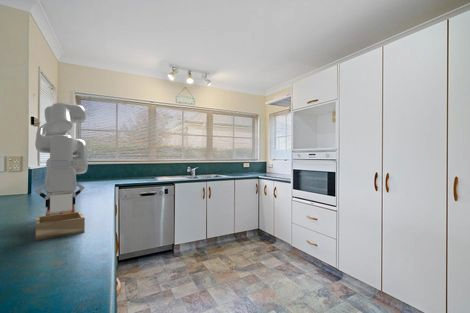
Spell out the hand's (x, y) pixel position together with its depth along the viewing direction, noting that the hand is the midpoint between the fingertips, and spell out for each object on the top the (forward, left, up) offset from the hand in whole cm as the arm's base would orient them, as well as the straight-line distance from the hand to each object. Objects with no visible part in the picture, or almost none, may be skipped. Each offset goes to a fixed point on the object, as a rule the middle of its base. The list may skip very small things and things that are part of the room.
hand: (60, 207), depth 91 cm
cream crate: (0, 0, -1) cm, 1 cm away
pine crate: (0, 0, -10) cm, 10 cm away
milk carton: (-15, +1, -10) cm, 19 cm away
